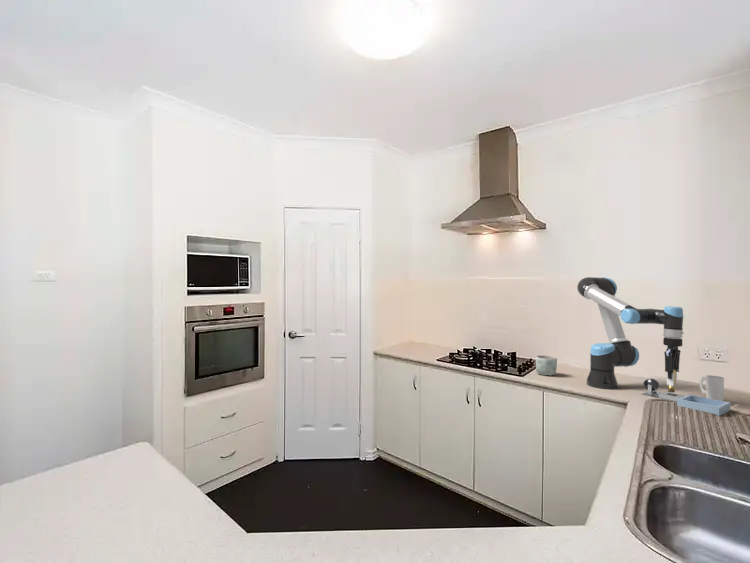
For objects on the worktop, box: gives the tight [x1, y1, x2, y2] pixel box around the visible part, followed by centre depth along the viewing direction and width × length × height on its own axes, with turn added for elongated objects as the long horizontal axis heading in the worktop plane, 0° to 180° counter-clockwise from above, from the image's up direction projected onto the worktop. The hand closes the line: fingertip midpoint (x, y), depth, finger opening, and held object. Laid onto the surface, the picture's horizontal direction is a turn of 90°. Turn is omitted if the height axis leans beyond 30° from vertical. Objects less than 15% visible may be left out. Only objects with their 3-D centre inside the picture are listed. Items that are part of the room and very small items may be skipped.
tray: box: [676, 394, 731, 417], centre depth 180 cm, size 15×15×4 cm
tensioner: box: [640, 378, 687, 403], centre depth 197 cm, size 17×10×8 cm, turn 34°
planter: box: [535, 355, 558, 377], centre depth 246 cm, size 12×12×11 cm
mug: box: [699, 374, 725, 401], centre depth 195 cm, size 10×7×12 cm, turn 19°
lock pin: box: [667, 369, 676, 393], centre depth 194 cm, size 3×3×11 cm
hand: (671, 384), depth 194 cm, fingers closed on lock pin, 3 cm apart
